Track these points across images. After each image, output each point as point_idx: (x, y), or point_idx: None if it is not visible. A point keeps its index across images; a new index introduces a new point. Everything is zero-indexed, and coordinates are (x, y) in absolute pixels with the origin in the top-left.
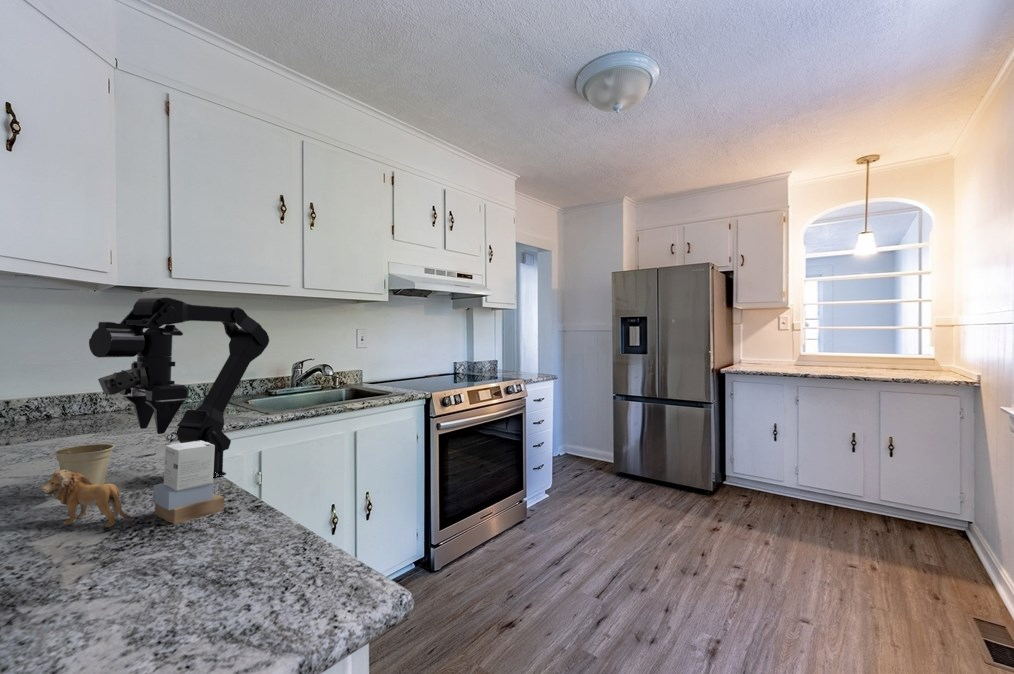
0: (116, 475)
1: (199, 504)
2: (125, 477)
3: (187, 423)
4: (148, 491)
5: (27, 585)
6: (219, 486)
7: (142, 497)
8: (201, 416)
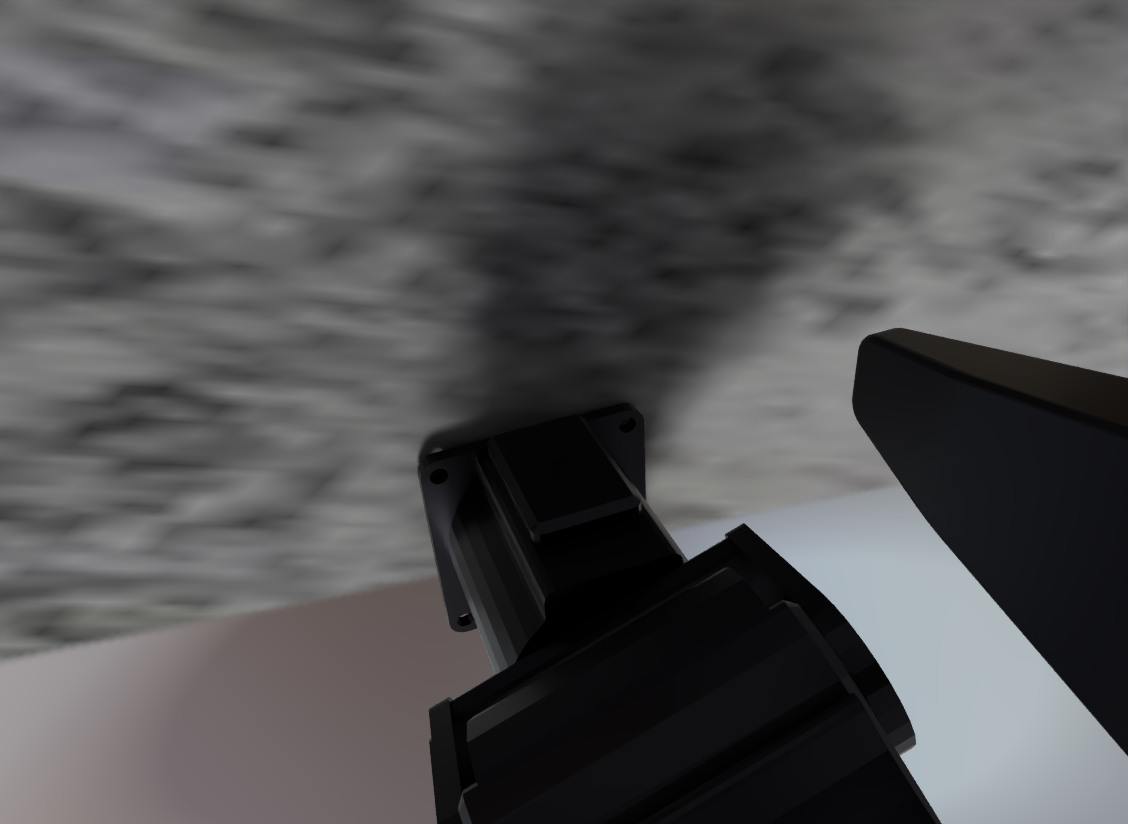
0: (1089, 13)
1: None
2: (978, 58)
3: (746, 820)
4: (394, 135)
5: None
6: (153, 579)
7: (206, 59)
8: None
